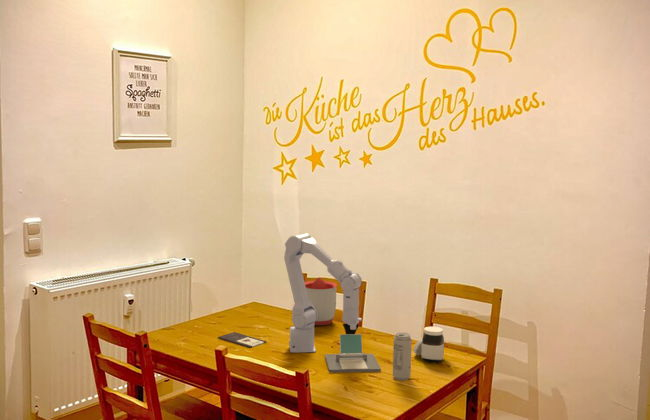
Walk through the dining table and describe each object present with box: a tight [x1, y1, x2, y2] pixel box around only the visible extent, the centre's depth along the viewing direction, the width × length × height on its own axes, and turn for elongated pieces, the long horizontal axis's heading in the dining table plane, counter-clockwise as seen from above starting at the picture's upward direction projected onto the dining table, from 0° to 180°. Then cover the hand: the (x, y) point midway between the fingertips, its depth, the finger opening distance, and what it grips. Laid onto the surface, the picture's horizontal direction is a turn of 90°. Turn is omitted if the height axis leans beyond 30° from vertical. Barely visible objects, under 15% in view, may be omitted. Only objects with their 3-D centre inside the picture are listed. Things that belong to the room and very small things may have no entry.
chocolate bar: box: [217, 331, 267, 349], centre depth 261 cm, size 9×1×18 cm
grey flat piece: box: [324, 353, 382, 374], centre depth 236 cm, size 18×16×3 cm
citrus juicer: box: [304, 277, 338, 326], centre depth 286 cm, size 16×17×20 cm
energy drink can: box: [392, 332, 413, 382], centre depth 222 cm, size 6×6×15 cm
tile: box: [339, 333, 363, 354], centre depth 239 cm, size 8×7×1 cm
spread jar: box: [412, 326, 445, 364], centre depth 243 cm, size 12×11×12 cm
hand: (350, 343), depth 241 cm, fingers closed, pressing on tile
